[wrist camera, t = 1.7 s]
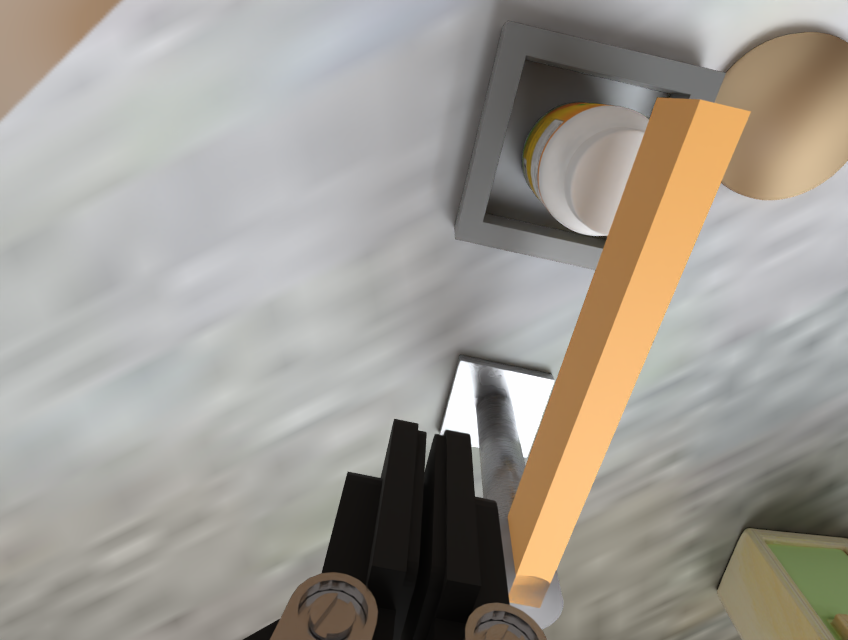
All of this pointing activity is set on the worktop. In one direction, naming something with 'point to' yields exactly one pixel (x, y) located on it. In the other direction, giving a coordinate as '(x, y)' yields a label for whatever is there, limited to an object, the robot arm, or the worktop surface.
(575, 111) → the supplement bottle
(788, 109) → the coaster
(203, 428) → the worktop surface
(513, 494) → the post
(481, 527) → the robot arm
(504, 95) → the socket
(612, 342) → the orange wooden bar
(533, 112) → the worktop surface
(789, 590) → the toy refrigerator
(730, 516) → the worktop surface
